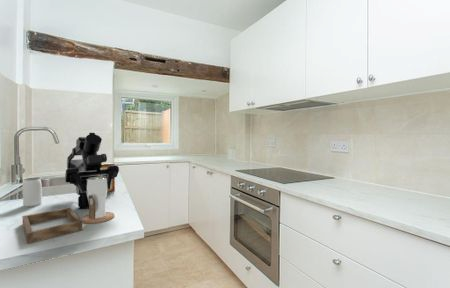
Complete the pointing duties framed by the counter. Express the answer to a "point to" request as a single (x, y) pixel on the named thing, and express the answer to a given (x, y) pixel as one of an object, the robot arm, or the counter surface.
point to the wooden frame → (51, 231)
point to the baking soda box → (104, 167)
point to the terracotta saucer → (91, 221)
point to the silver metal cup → (97, 196)
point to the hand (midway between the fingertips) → (96, 190)
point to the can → (32, 192)
